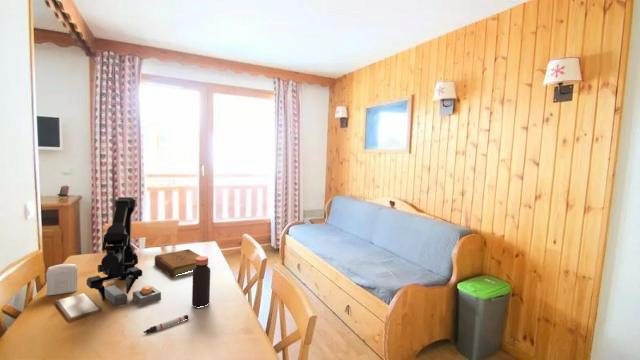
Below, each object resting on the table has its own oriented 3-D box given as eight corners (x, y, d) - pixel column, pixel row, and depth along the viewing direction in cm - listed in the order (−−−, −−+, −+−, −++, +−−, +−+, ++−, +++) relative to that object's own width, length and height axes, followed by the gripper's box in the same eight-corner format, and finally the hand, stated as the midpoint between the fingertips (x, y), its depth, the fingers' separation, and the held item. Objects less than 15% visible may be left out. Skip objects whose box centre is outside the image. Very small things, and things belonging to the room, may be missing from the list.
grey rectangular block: (114, 293, 135) (114, 285, 135) (127, 304, 127) (127, 295, 126) (104, 295, 132) (104, 287, 132) (117, 307, 124) (117, 298, 124)
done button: (149, 290, 134) (149, 285, 134) (153, 293, 132) (154, 288, 132) (139, 293, 131) (139, 288, 131) (143, 296, 129) (143, 291, 129)
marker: (186, 318, 119) (186, 313, 119) (188, 320, 118) (188, 315, 117) (142, 334, 108) (142, 328, 108) (144, 336, 106) (144, 331, 106)
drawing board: (85, 294, 132) (85, 292, 132) (101, 311, 120) (101, 308, 120) (55, 302, 124) (55, 300, 124) (69, 321, 112) (69, 318, 112)
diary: (154, 265, 170) (154, 255, 169) (188, 258, 184) (188, 249, 183) (172, 278, 154) (172, 267, 154) (207, 269, 168) (207, 259, 168)
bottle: (190, 309, 125) (192, 261, 124) (193, 301, 132) (194, 255, 130) (208, 308, 127) (210, 260, 126) (209, 300, 134) (211, 255, 132)
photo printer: (78, 288, 138) (77, 261, 137) (77, 292, 134) (77, 264, 133) (47, 292, 132) (47, 264, 131) (45, 297, 128) (45, 268, 127)
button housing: (152, 292, 137) (152, 286, 137) (160, 299, 132) (160, 292, 132) (132, 298, 131) (132, 292, 131) (140, 305, 126) (140, 298, 126)
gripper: (132, 251, 140) (132, 284, 142) (82, 260, 126) (82, 297, 127) (143, 257, 134) (142, 292, 135) (91, 268, 119) (91, 307, 120)
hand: (115, 296), depth 129 cm, fingers open, 8 cm apart
